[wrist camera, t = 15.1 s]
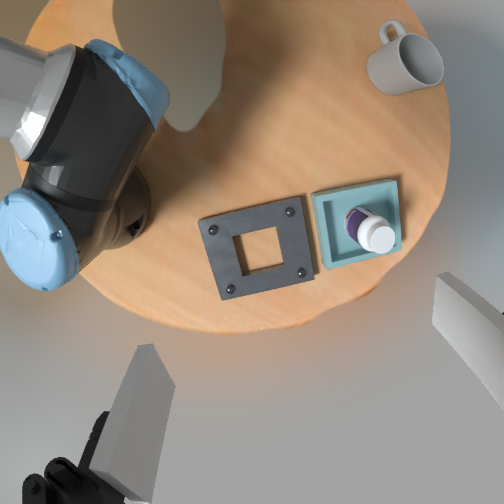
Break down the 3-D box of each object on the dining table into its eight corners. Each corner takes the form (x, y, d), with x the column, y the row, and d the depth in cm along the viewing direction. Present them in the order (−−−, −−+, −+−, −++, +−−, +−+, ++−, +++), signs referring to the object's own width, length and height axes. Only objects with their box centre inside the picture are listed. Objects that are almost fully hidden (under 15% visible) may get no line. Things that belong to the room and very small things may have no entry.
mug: (414, 92, 38) (452, 84, 28) (376, 99, 39) (411, 90, 29) (389, 31, 34) (421, 11, 24) (349, 36, 35) (376, 12, 25)
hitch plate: (222, 296, 50) (221, 302, 48) (198, 219, 45) (196, 222, 43) (312, 275, 49) (315, 280, 47) (298, 196, 44) (300, 198, 42)
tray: (322, 262, 48) (326, 269, 46) (310, 193, 44) (315, 196, 41) (393, 244, 48) (401, 250, 45) (387, 178, 44) (396, 180, 41)
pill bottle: (345, 241, 46) (368, 263, 37) (339, 210, 45) (363, 226, 35) (374, 232, 46) (401, 252, 37) (369, 202, 44) (398, 216, 35)
